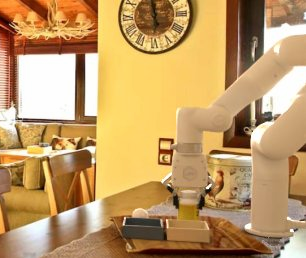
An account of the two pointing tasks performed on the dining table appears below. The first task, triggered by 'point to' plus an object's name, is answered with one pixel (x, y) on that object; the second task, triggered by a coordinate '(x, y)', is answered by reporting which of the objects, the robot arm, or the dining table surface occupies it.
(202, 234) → the cream bin
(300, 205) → the dining table surface
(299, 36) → the robot arm
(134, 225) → the slate bin
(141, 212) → the white ball
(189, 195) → the pill bottle
